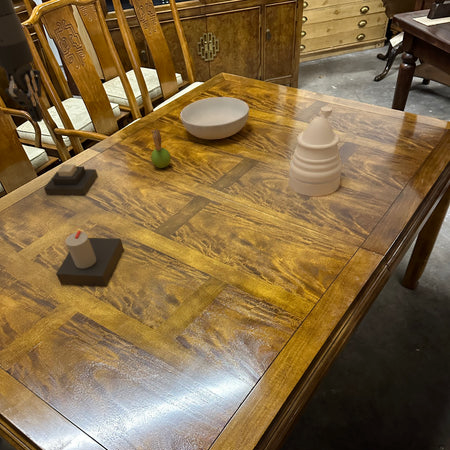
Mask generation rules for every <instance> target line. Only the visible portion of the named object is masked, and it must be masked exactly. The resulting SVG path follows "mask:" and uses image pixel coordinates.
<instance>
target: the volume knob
mask: <svg viewBox="0 0 450 450" xmlns="http://www.w3.org/2000/svg"><path fill="white" fill-rule="evenodd" d="M89 238H90V237H89V235H88V234H87V233H86V232H85V231H84V232H83V231H82V230H78V231H77V232H74V233H71V234H69V235H68V236H67V237H65V241H64V242H65V245H66V247H67V250H68V253H69V252H70V254H71V256H72V258H73V261H74V263H75V265H76V267H78V268H81V269H84V268H88V267H91V266H92V265H94V264H95V262H96V256H95V254H94V251H93V248H92V246H91V243H90V241H89Z"/></svg>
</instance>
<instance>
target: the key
mask: <svg viewBox="0 0 450 450" xmlns="http://www.w3.org/2000/svg"><path fill="white" fill-rule="evenodd" d="M76 171H77V168H76V164H62V165H61V166H60V167H59V168H58V170H57V171H56V172H58V174H59V177H72V176H73V175H74V174H75V172H76Z"/></svg>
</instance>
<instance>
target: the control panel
mask: <svg viewBox="0 0 450 450" xmlns="http://www.w3.org/2000/svg"><path fill="white" fill-rule="evenodd" d="M88 238H89V241H90V243H91V246H92V248H93V251H94V254H95V256H96V262H95V264H94V265H92V266H91V267H88V268H84V269H81V268H78V267H76V265H75V263H74V261H73V258H72V256H71V254H70V252H69V251H68V253H67V255H66V256H65V258H64V260H63V261H62V262H61V265H60V266H59V268H58V269H57V271H56V273H55V275H56V277H57V279H58V281H59V283H60V285H66V286H67V285H69V286H85V287H86V286H87V287H107V286H108V283H109V281H110V280H111V278H112V276H113V273H114V271H115V269H116V267H117V265H118V263H119V262H120V258H121V256H122V254H123V252H124V250H125V248H124V246H123V242H122V238H114V237H113V238H110V237H109V238H108V237H88Z"/></svg>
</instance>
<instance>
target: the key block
mask: <svg viewBox="0 0 450 450" xmlns="http://www.w3.org/2000/svg"><path fill="white" fill-rule="evenodd" d="M76 168H77V171H76V172H75V174H74V175H73V176H72V177H59V174H58V172H57V171H56V172H55V173H54V175H53V176H52V177H51V179H50V180H49V181H47V183H46V185H45V186H44V187H43V190H44V193H45V195H46V196H61V197H63V196H67V197H74V196H75V197H85V196H86V195H87V194H88V192H89V191H90V189H91V188H92V186H93V185H94V184H95V182H96V180H97V179H98V177H99V175H98V171H97V168H94V169H93V168H91V169H90V168H89V169H88V168H85V166H76Z"/></svg>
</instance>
